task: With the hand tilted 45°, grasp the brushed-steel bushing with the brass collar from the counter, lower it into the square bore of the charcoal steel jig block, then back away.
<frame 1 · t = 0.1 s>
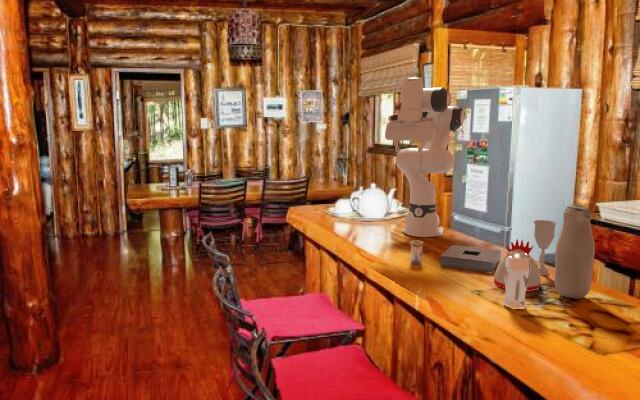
hand: (408, 151, 216), 39 cm above the counter, tool pointing down, fingers open, 8 cm apart
beer glass: (514, 307, 151), on the counter
glass bottle: (570, 297, 159), on the counter
jig: (471, 263, 194), on the counter
chalice: (541, 274, 183), on the counter
bushing: (416, 263, 195), on the counter
kitchen timer: (516, 285, 171), on the counter
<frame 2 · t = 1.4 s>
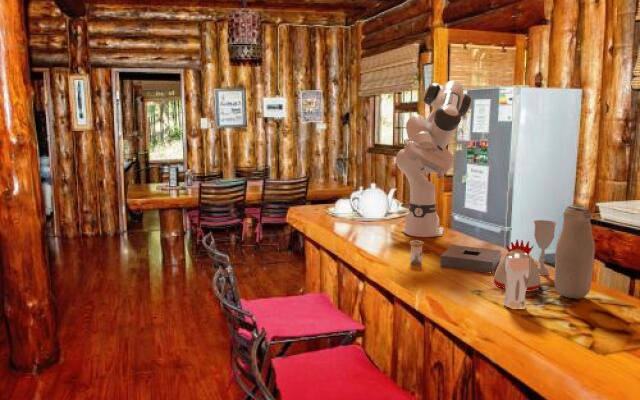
hand: (431, 173, 198), 32 cm above the counter, tool tilted 50°, fingers open, 8 cm apart
nothing on the counter moved.
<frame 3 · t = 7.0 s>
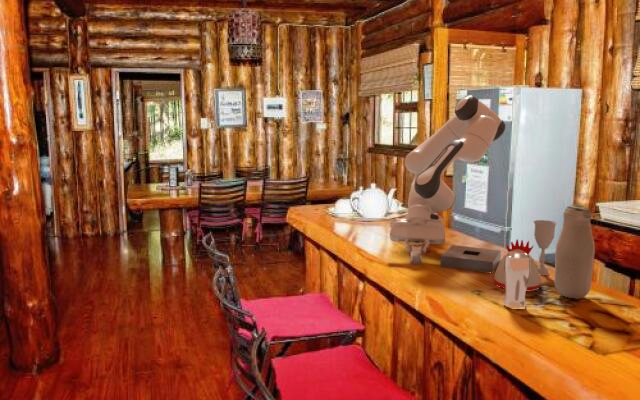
hand: (416, 251, 193), 5 cm above the counter, tool tilted 45°, fingers closed on bushing, 4 cm apart
bushing: (416, 263, 195), on the counter, touching gripper
everything else where it was.
when the fingers open (7 cm above the counter, at t = 12.9 s): bushing drops 2 cm, resting in jig.
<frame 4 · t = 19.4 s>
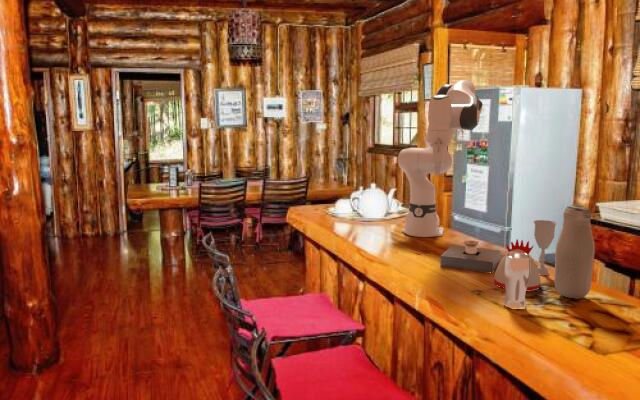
hand: (437, 174, 205), 31 cm above the counter, tool pointing down, fingers open, 8 cm apart
bushing: (470, 263, 195), resting in jig
everything else where it was.
at the end: bushing 0.3 cm off-centre on the jig, point 0.0 cm above the jig's base; bushing tilted 1°; the gripper is holding nothing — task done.
